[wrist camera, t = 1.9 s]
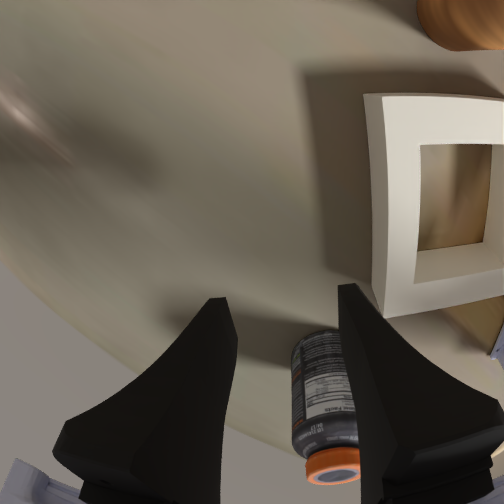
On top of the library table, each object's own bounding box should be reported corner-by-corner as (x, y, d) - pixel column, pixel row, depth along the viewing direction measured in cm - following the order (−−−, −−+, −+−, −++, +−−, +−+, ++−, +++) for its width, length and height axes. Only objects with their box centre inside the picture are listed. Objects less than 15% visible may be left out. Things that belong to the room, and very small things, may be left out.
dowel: (480, 55, 12) (568, 60, 6) (423, 48, 13) (506, 39, 6) (468, -7, 10) (548, -27, 3) (409, -18, 11) (479, -58, 4)
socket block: (493, 266, 20) (514, 291, 17) (371, 286, 21) (382, 318, 18) (509, 99, 13) (541, 107, 10) (362, 93, 15) (381, 96, 12)
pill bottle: (331, 381, 27) (340, 493, 17) (277, 360, 26) (271, 484, 16) (375, 342, 24) (402, 465, 14) (319, 316, 23) (332, 456, 13)
